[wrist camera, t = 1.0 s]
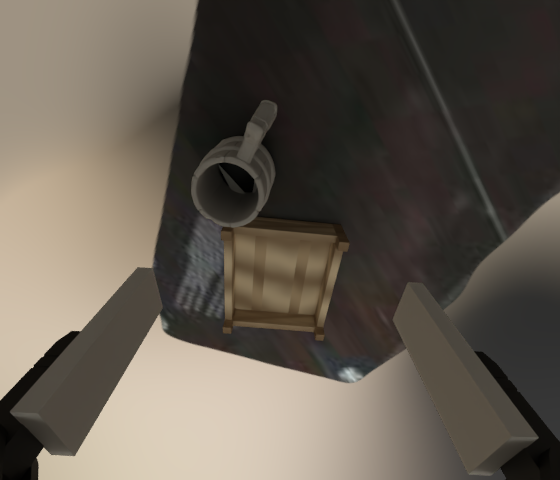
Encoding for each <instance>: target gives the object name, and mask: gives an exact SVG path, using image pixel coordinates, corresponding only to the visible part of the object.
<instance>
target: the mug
mask: <svg viewBox="0 0 560 480" xmlns="http://www.w3.org/2000/svg"><path fill="white" fill-rule="evenodd" d="M276 115H277V104H276V103H274V102H272V101H269V100H262V101H261V103H260V105H259V107H258V108H257V110H256V112H255V113H254V115H253V116H252V118H251V121H250V122H248V123H247V127H246V131H245V134H244V136H234V137H230V138H227V139H223V140H222V141H221V142H220V143H219V144H218V145H217V146H216V147H215V148H213V149H212V150H210V151H209V153H208V154H207V155H206V156H205V157H204V158H203V160H202V161H201V163H200V165H199V167H198V168H197V169H196V171H195V172H194V176H193V177H192V183H191V194H192V198H193V202H194V204H195V206H196V208H197V210H199V212H200V213H201V214H202V215H203V216H204V217H205V218H206V219H211V220H212V221H213V222H214V223H216V224H218V225H220V226H224V227H230V226H231V227H232V228H233V227H240V226H243V225H246V224H248V223H250V222H251V221H252V220H254V219H255V218H256V217H257V215H258V213H259V211H261V209H262V207H263V206H264V205H265V203H266V201H267V199H268V197H269V193H270V189H271V187H272V185H273V182H274V178H275V174H276V173H275V167H274V162H273V159H272V157H271V155H270V153H269V152H268V150H267V149H266V148H265V147H264V146H263V145H262V144H261V142H262V140H263V138H264V136H265V134H266V132H267V131H268V130H269V129H270V127H271V125H272V123H273V122H274V120H275V118H276ZM223 162H226V163H231V164H235V165H237V166H240V167H241V168H243V169H244V170H246V171H247V172H248V173H249V174H250V175H251V176H252V177H253V178H254V187H253V192H250V193H245V192H244V191H243V190H242V189H241V188H240V187H239V186H238V185H237V184H236V183H235V182H234V180H233V179H232V178H231V177H230V176H229V175H228V174H227V173H226V172H225V171H224V170H223V168H222V167H221V166H220V165H219V163H223ZM219 168H220V170H221V172H222V174H223V176H224V177H225V179H226V181H227V183H228V185H229V186H227V184H226V183H225V182H224V181H223V179H222V177H221V175H220V171H219ZM257 188H258V189H257ZM256 189H257V190H256Z"/></svg>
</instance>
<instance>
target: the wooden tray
mask: <svg viewBox="0 0 560 480" xmlns="http://www.w3.org/2000/svg"><path fill="white" fill-rule="evenodd" d="M221 240H224V275H225V322H224V325H223V333H230V334H231V332H232V328H233V326H244V327H257V328H270V329H283V330H296V331H309V332H314V335H315V340H321V341H323V339H324V330H323V325H324V322H325V318H326V314H327V310H328V306H329V303H330V299H331V295H332V291H333V287H334V284H335V280H336V276H337V272H338V268H339V265H340V261H341V257H342V253H343V251H345V252H347V251H348V248H349V244H350V242H349V240H348V238H347V236H346V234H345V232H344V230H343V228H342V226H341V225H338V224H328V223H317V222H307V221H296V220H286V219H275V218H265V217H256V218H255V219H254V220H252V221H251V222H250V223H248V224H246V225H243V226H240V227H233V228H232V227H231V226H230V227H224V226H223V228H222V230H221Z"/></svg>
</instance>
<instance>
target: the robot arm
mask: <svg viewBox="0 0 560 480" xmlns="http://www.w3.org/2000/svg"><path fill="white" fill-rule="evenodd" d="M162 308H163V306H162V302H161V299H160V295H159V291H158V287H157V283H156V279H155V275H154V271H153V268H139V267H138V268H137V269H136V270H135V271H134V272H133V273H132V275H131V276H130V277H129V278H128V279H127V280H126V281H125V282H124V283H123V285H122V286H121V287H120V288H119V289H118V290H117V291H116V292H115V294H114V295H113V296H112V297H111V298H110V299H109V300H108V301H107V303H106V304H105V305H104V306H103V307H102V308H101V309H100V310H99V312H98V313H97V314H96V315H95V316H94V317H93V319H92V320H91V321H90V322H89V323H88V324H87V325H86V326H85V327H84V329H83V330H82V331H80V332H79V331H71V332H70V333H69V334H67V335H65V336H64V337H62V338H61V339H60V340H58V341H57V342H56V343H55V344H54V345H53V346H52V347H51V348H50V349H49V350H48V351H47V352H46V353H45V354H44V357H42V358H40V360H39V361H38V362H37V363H36V364H35V365H34V367H33V368H31V369H30V370H29V371H28V372H27V373H26V374H25V375H24V376H23V377H22V378H21V380H19V382H18V383H17V384H16V385H15V386H14V387H13V388H12V389H11V390H10V391H9V392H8V393H7V394H6V395H5V396H4V397H3V398H2V399H1V400H0V480H38V461H37V458H36V457H37V456H38V455H39V453H40V451H41V450H42V449H43V447H44V448H45V449H46V450H47V451H48V452H49V453H50V454H51V455H65V456H75V455H76V453H77V451H78V449H79V448H80V446H81V444H82V443H83V441H84V439H85V438H86V436H87V434H88V433H89V431H90V429H91V428H92V426H93V424H94V423H95V421H96V419H97V418H98V416H99V414H100V412H101V411H102V409H103V407H104V406H105V404H106V402H107V401H108V399H109V397H110V396H111V394H112V392H113V390H114V389H115V387H116V386H117V384H118V382H119V380H120V379H121V377H122V375H123V374H124V372H125V370H126V369H127V367H128V365H129V364H130V362H131V360H132V359H133V357H134V355H135V354H136V352H137V350H138V348H139V346H140V345H141V343H142V342H143V340H144V338H145V337H146V335H147V333H148V332H149V330H150V328H151V326H152V325H153V323H154V321H155V320H156V318H157V316H158V315H159V313H160V311H161V310H162ZM393 322H394V324H395V326H396V328H397V330H398V332H399V334H400V336H401V338H402V340H403V342H404V344H405V346H406V348H407V350H408V352H409V354H410V356H411V358H412V360H413V362H414V365H415V367H416V369H417V371H418V372H419V374H420V377H421V379H422V381H423V383H424V385H425V387H426V389H427V391H428V393H429V395H430V397H431V399H432V401H433V403H434V405H435V407H436V409H437V411H438V414H439V416H440V417H441V420H442V422H443V424H444V426H445V427H446V430H447V432H448V434H449V436H450V438H451V440H452V442H453V444H454V446H455V448H456V450H457V452H458V454H459V456H460V458H461V460H462V462H463V464H464V467H465V469H466V471H467V473H468V474H469V475H492V474H493V473H495V472H496V471H497V470H498V469H500V468H501V470H502V472H503V473H504V475H505V477H506V480H560V442H559V440H558V439H557V438H556V437H555V436H554V435H553V433H552V432H551V431H550V430H549V429H548V427H547V426H546V425H545V423H544V422H543V421H542V420H541V418H540V417H539V416H538V415H537V413H536V412H535V411H534V410H533V408H532V407H531V406H530V405H529V404H528V402H527V401H526V400H525V399H524V397H523V396H522V395H521V394H520V392H517V388H516V387H515V386H514V385H513V384H512V382H511V381H510V380H508V378H507V376H506V375H505V374H504V373H503V371H502V370H501V369H500V367H499V366H498V365H497V364H496V363H495V362H494V361H492V360H491V359H490V358H489V357H488V356H487V355H486V354H484V353H483V352H476V351H473V350H472V348H471V347H470V346H469V344H468V343H467V342H466V340H465V339H464V338H463V336H462V335H461V334H460V332H459V331H458V330H457V328H456V327H455V326H454V324H453V323H452V322H451V320H450V319H449V318H448V316H447V315H446V314H445V312H444V311H443V310H442V308H441V307H440V306H439V304H438V303H437V302H436V300H435V299H434V298H433V296H432V295H431V294H430V292H429V291H428V290H427V288H426V287H425V286H424V284H423V283H411V282H408V283H407V286H406V288H405V291H404V293H403V295H402V298H401V300H400V303H399V305H398V308H397V310H396V313H395V315H394V318H393Z"/></svg>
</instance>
